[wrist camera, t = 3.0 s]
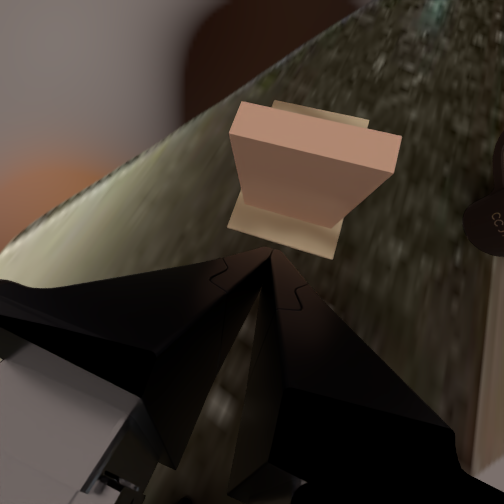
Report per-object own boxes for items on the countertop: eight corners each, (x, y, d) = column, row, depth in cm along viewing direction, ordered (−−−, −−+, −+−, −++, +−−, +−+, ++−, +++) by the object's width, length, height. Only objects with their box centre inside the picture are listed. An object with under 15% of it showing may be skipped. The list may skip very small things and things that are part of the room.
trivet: (331, 259, 20) (332, 259, 20) (227, 228, 21) (227, 227, 21) (367, 123, 23) (369, 120, 23) (274, 103, 24) (274, 100, 24)
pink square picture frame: (330, 228, 20) (393, 173, 10) (244, 203, 21) (228, 133, 12) (336, 206, 21) (402, 134, 11) (252, 183, 22) (242, 99, 12)
